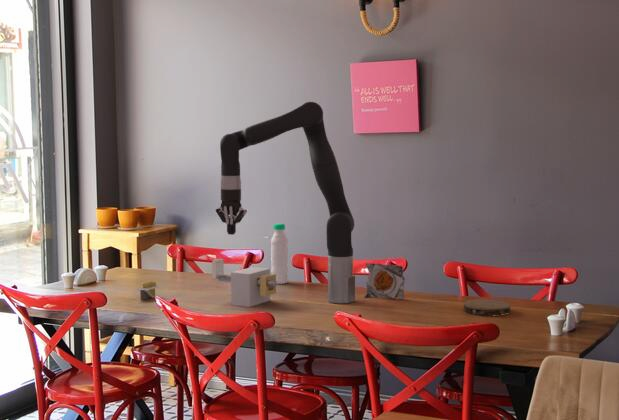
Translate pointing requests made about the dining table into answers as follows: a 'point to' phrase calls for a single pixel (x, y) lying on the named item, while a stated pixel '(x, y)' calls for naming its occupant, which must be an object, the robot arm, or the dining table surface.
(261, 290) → the spacer
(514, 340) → the dining table surface
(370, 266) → the meal
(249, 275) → the block
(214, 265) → the shaft
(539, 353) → the dining table surface
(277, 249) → the water bottle
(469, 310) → the dark brown disc
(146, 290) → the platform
